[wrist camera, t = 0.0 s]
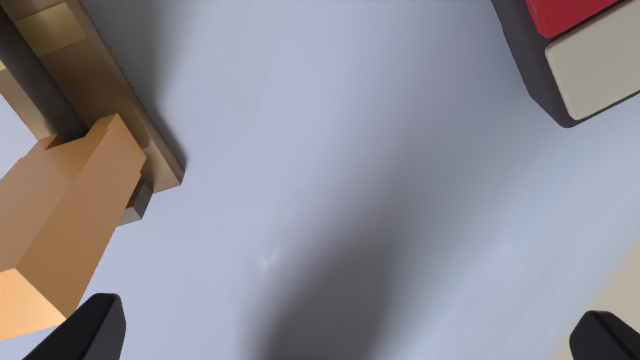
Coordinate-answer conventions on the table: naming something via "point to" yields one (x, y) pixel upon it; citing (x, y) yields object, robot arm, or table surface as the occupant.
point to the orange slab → (61, 221)
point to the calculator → (574, 53)
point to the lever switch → (75, 87)
